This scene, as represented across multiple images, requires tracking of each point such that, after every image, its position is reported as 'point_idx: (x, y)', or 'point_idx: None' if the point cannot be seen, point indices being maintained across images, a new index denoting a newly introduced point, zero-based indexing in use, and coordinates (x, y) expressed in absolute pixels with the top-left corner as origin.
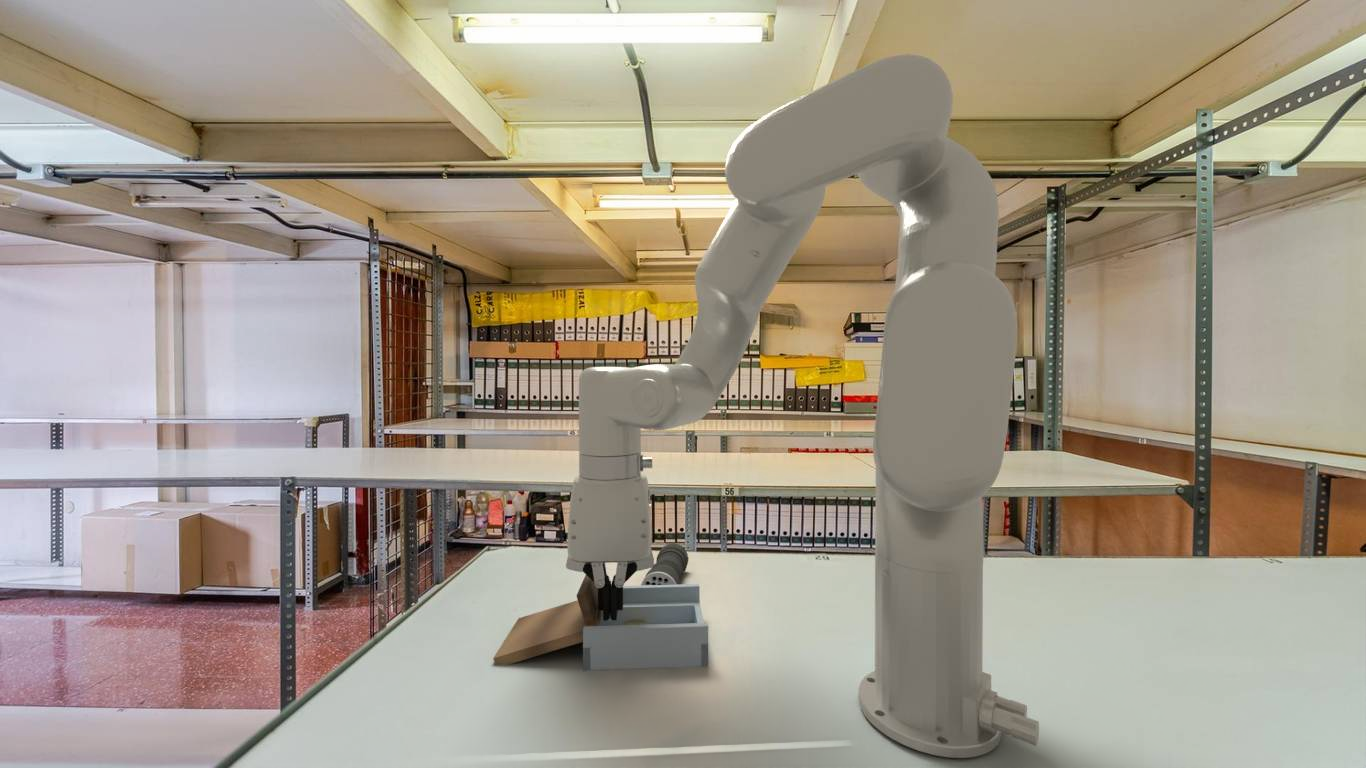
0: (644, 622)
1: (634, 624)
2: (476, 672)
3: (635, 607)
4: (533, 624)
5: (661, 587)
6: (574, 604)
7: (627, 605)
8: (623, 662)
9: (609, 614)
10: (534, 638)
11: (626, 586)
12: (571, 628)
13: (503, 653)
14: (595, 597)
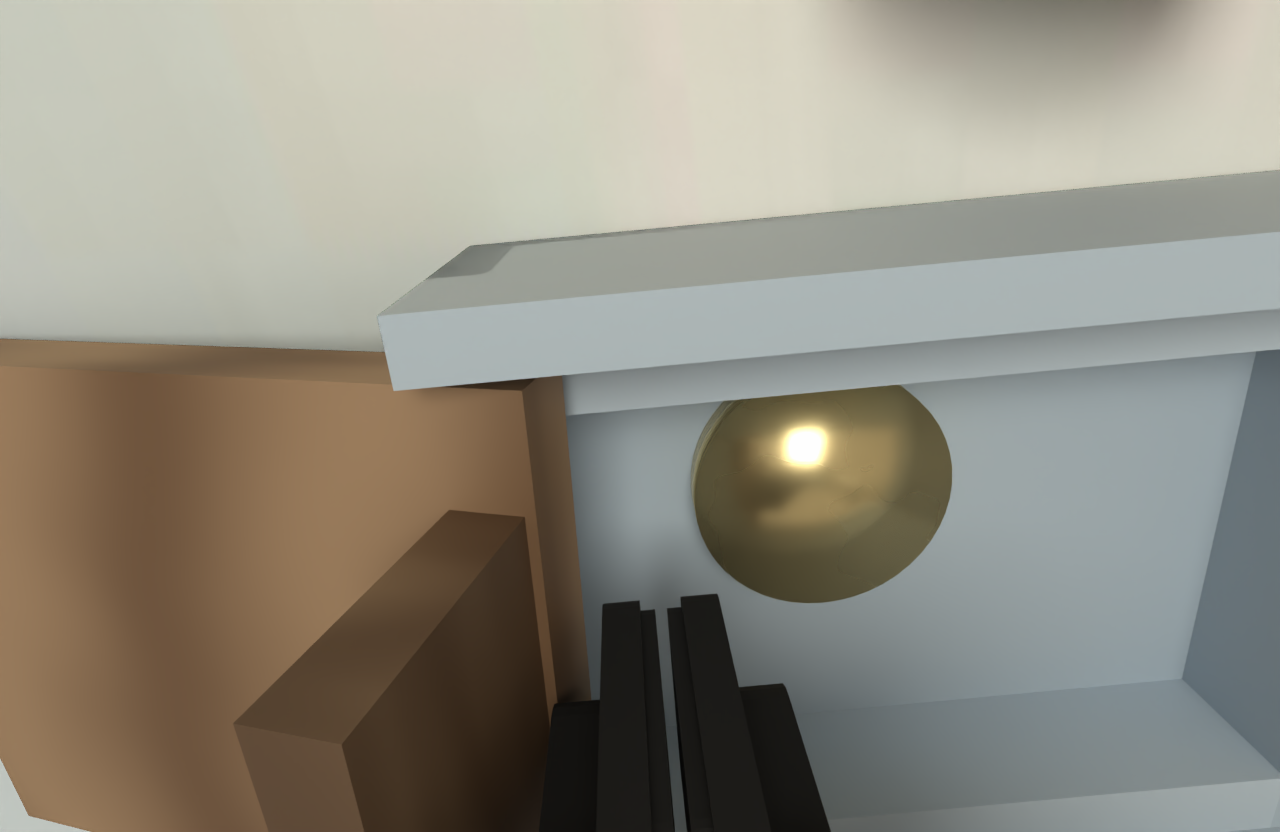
0: (893, 393)
1: (814, 425)
2: (6, 796)
3: (852, 387)
4: (37, 576)
5: (1241, 308)
6: (255, 455)
7: (775, 364)
8: None
9: (667, 747)
10: (178, 788)
11: (793, 297)
12: None
13: (63, 813)
14: (506, 752)
